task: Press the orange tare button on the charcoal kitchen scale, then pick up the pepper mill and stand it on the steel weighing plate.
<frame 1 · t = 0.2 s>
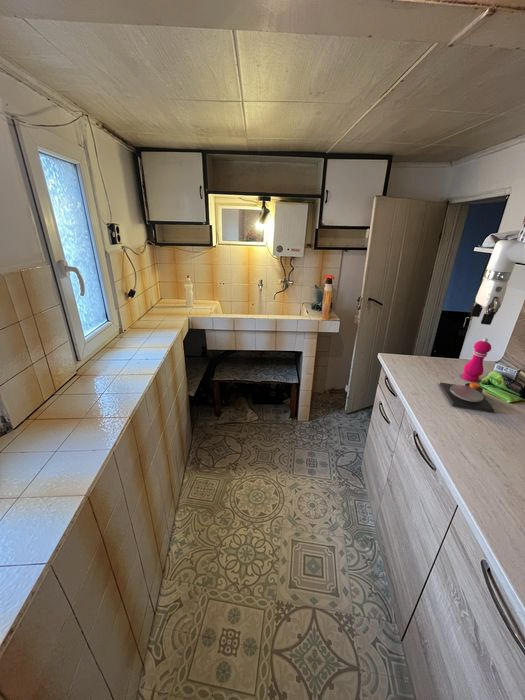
hand: (479, 320, 110), 30 cm above the counter, tool pointing down, fingers open, 9 cm apart
scale: (464, 397, 114), on the counter
pepper mill: (469, 378, 129), on the counter
tare button: (474, 386, 116), point 4 cm above the counter, slide at 0.1 cm
weighing plate: (463, 400, 113), resting on scale
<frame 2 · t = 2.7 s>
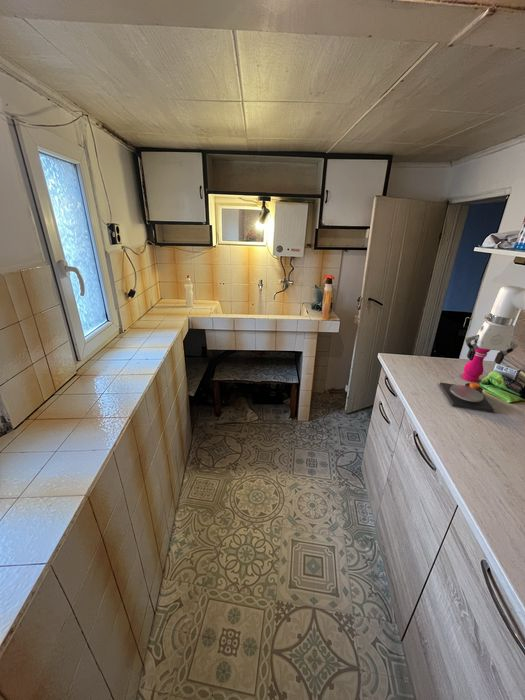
hand: (483, 360, 112), 15 cm above the counter, tool pointing down, fingers open, 9 cm apart
nothing on the counter moved.
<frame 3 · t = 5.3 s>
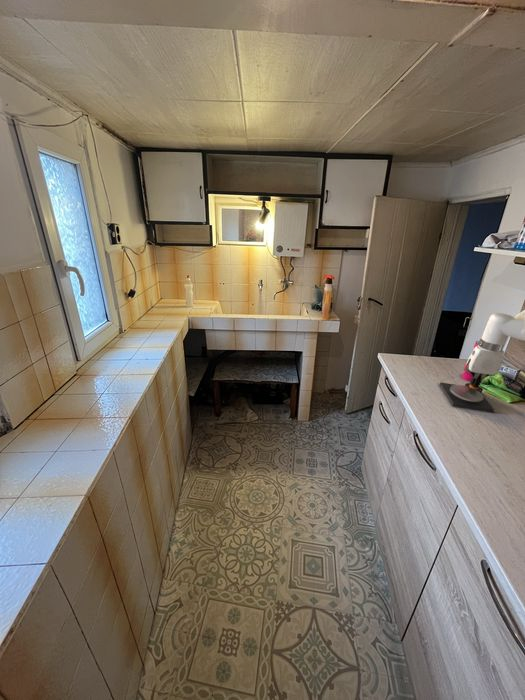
hand: (473, 385, 116), 4 cm above the counter, tool pointing down, fingers closed
tare button: (473, 387, 116), point 3 cm above the counter, slide at -0.7 cm, touching gripper
everything else where it was.
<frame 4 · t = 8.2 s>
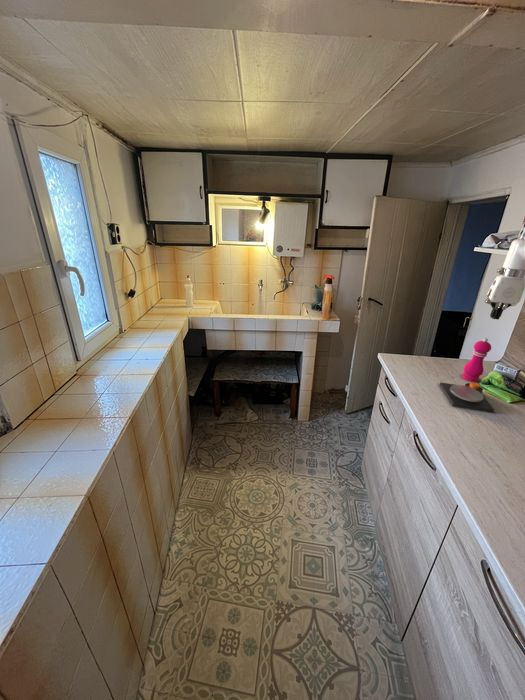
hand: (494, 318, 117), 29 cm above the counter, tool pointing down, fingers closed
tare button: (474, 386, 116), point 3 cm above the counter, slide at 0.1 cm
everything else where it was.
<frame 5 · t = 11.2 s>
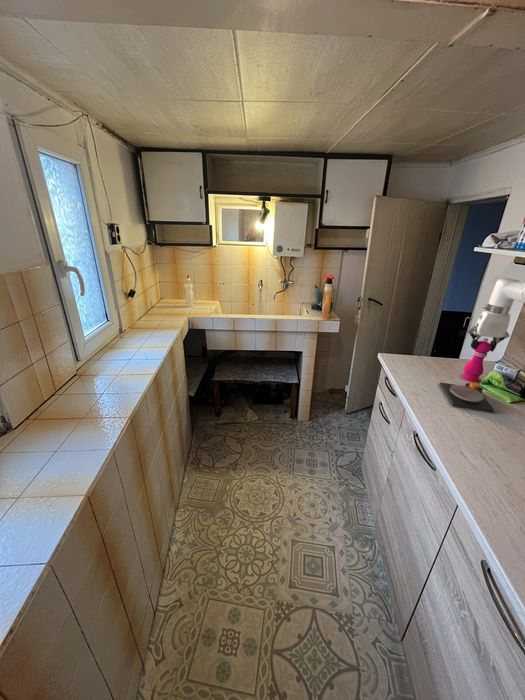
hand: (481, 348, 123), 15 cm above the counter, tool pointing down, fingers closed on pepper mill, 6 cm apart
pepper mill: (469, 378, 129), on the counter, touching gripper
everything else where it was.
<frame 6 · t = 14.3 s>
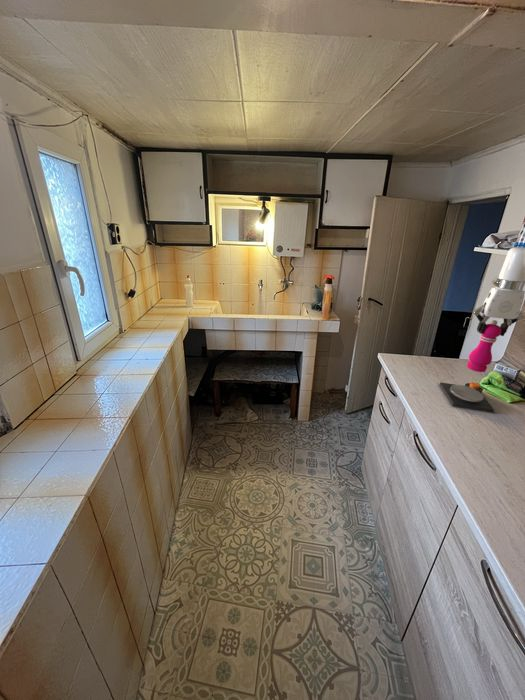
hand: (490, 333, 105), 27 cm above the counter, tool pointing down, fingers closed on pepper mill, 6 cm apart
pepper mill: (475, 368, 111), point 12 cm above the counter, touching gripper
everything else where it was.
when the fingers open (19 cm above the counter, at t = 17.3 s): pepper mill stays where it is, resting on weighing plate.
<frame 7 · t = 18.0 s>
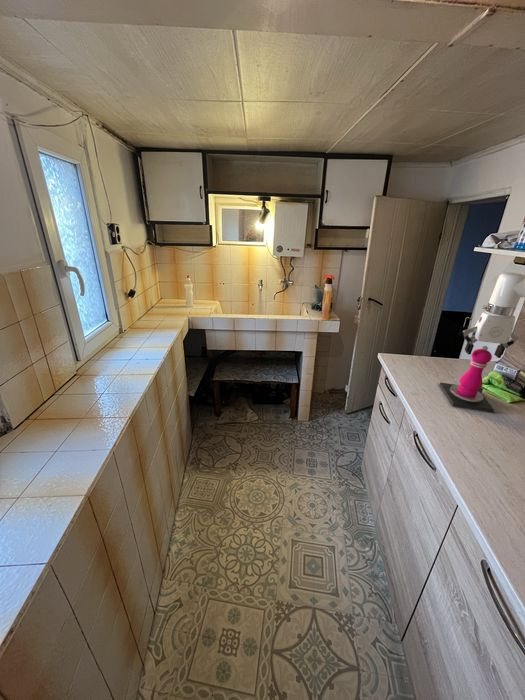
hand: (482, 354, 104), 20 cm above the counter, tool pointing down, fingers open, 9 cm apart
pepper mill: (466, 392, 111), point 4 cm above the counter, touching weighing plate
everything else where it was.
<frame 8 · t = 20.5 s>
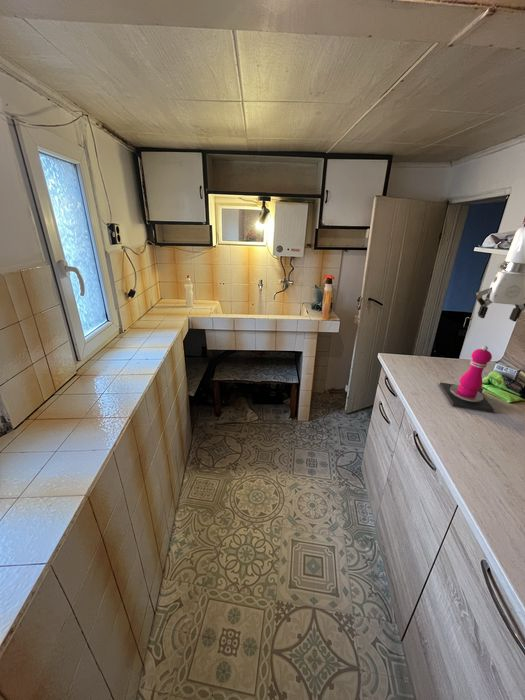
hand: (496, 318, 98), 34 cm above the counter, tool pointing down, fingers open, 9 cm apart
nothing on the counter moved.
at the end: tare button pushed in 0.9 cm at the most during the clip, back to where it started at the end; pepper mill inside the target area on the scale (0.1 cm from its centre), point 3.6 cm above the scale's base; pepper mill tilted 0° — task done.
